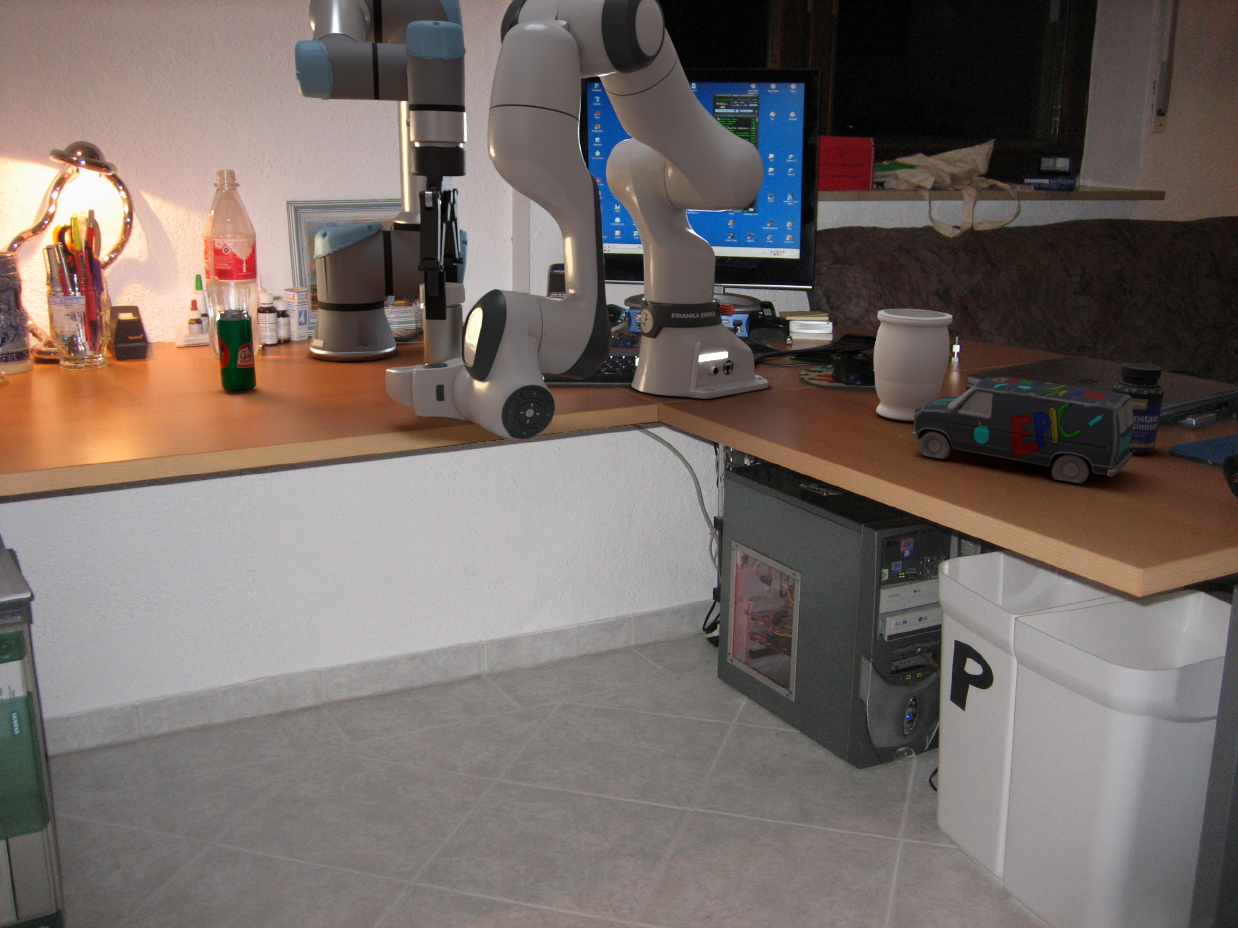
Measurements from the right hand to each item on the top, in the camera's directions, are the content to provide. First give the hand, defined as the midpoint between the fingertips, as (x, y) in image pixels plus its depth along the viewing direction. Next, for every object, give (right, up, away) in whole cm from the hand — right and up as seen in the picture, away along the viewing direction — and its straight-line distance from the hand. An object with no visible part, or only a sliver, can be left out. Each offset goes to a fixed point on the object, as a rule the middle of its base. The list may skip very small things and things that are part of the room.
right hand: (441, 368), depth 153 cm
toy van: (+75, -14, -19) cm, 79 cm away
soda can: (-33, -2, +12) cm, 35 cm away
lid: (+1, +11, -4) cm, 12 cm away
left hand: (+1, +7, -3) cm, 8 cm away
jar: (+67, -7, +4) cm, 68 cm away
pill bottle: (+93, -12, -12) cm, 94 cm away
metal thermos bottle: (0, -6, +1) cm, 6 cm away
